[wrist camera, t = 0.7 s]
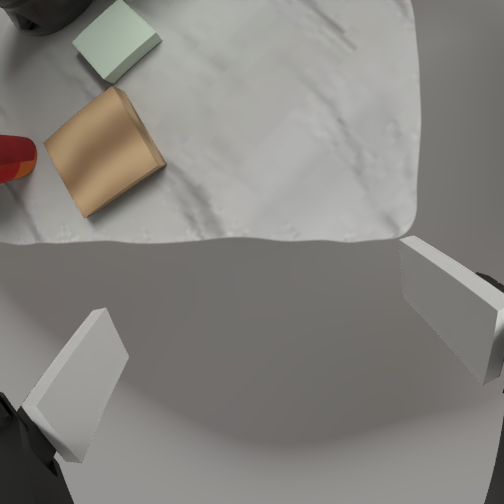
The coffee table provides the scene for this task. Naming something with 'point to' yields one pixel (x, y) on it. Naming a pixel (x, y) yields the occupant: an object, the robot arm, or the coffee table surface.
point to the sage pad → (116, 41)
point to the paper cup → (16, 157)
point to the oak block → (103, 151)
